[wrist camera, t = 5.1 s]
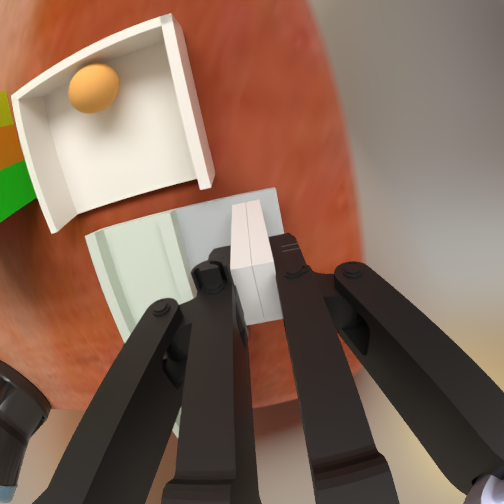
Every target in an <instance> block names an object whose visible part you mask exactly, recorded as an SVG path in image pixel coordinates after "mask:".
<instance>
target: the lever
mask: <svg viewBox="0 0 504 504" xmlns="http://www.w3.org/2000/svg"><path fill="white" fill-rule="evenodd" d="M254 200H259V201H260V205H261V209H262V213H263V217H264V222H265V226H266V230H267V234H268V237H270V236H275V235H280V234H284V230H283V225H282V219H281V214H280V209H279V203H278V198H277V193H276V188H275V187H272V188H267V189H262V190H257V191H252V192H247V193H242V194H237V195H233V196H228V197H223V198H219V199H214V200H210V201H206V202H201V203H197V204H193V205H188V206H184V207H180V208H176V209H172V210H168V211H164V212H160V213H156V214H152V215H149V216H145V217H141V218H137V219H134V220H130V221H126V222H123V223H119V224H116V225H112V226H109V227H105V228H102V229H99V230H97V231H95V232H93V233H91V234H89V235H86V236H85V238H86V242H87V245H88V248H89V252H90V255H91V258H92V261H93V264H94V267H95V270H96V273H97V276H98V279H99V282H100V285H101V287H102V290H103V293H104V295H105V298H106V301H107V303H108V306H109V308H110V311H111V313H112V316H113V318H114V320H115V323H116V325H117V327H118V330H119V332H120V334H121V336H122V339H123V341H124V343H126V341H127V339H128V338H129V336H130V335H131V333H132V331H133V330H134V328H135V327H136V325H137V323H138V322H139V320H140V319H141V317H142V316H143V314H144V312H145V311H146V309H147V308H148V307H149V306H150V305H151V304H152V303H154V302H155V301H157V300H160V299H163V298H173V299H175V300H176V301H177V302H178V304H179V305H180V304H182V303H185V302H187V301H190V300H192V299H194V298H195V297H196V296H197V289H196V287H195V284H194V281H193V279H192V276H191V271H192V269H193V268H194V267H195V266H196V265H198V264H199V263H201V262H203V261H207V260H208V257H209V254H210V253H211V252H212V250H213V249H214V248H219V247H224V246H229V245H231V222H232V205H235V204H240V203H245V202H249V201H254ZM180 415H181V408H180V411H179V414H178V416H177V419H176V422H175V424H174V427H173V429H172V431H173V432H174V434H175V435H176V437H177V438H178V436H179V425H180Z"/></svg>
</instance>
